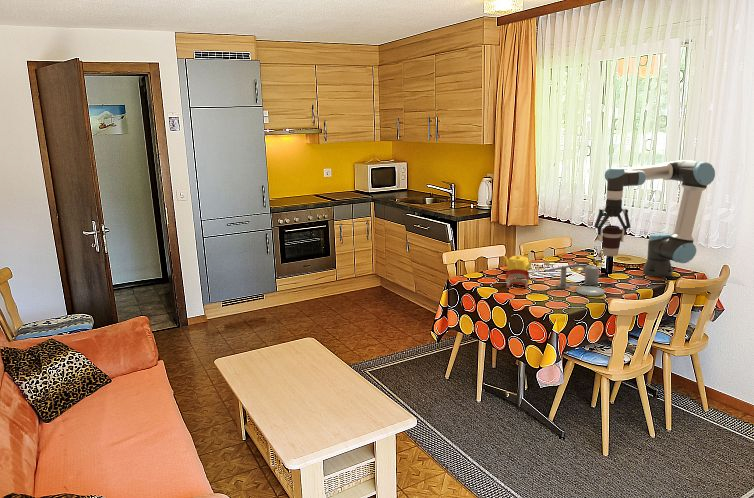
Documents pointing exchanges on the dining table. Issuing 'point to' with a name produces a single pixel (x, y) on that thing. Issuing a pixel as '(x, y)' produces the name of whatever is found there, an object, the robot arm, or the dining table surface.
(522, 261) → the teapot
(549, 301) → the dining table surface
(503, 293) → the dining table surface
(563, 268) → the balance
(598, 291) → the pale grey round disc
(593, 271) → the grey rounded capsule
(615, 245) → the coffee cup
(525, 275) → the toy
